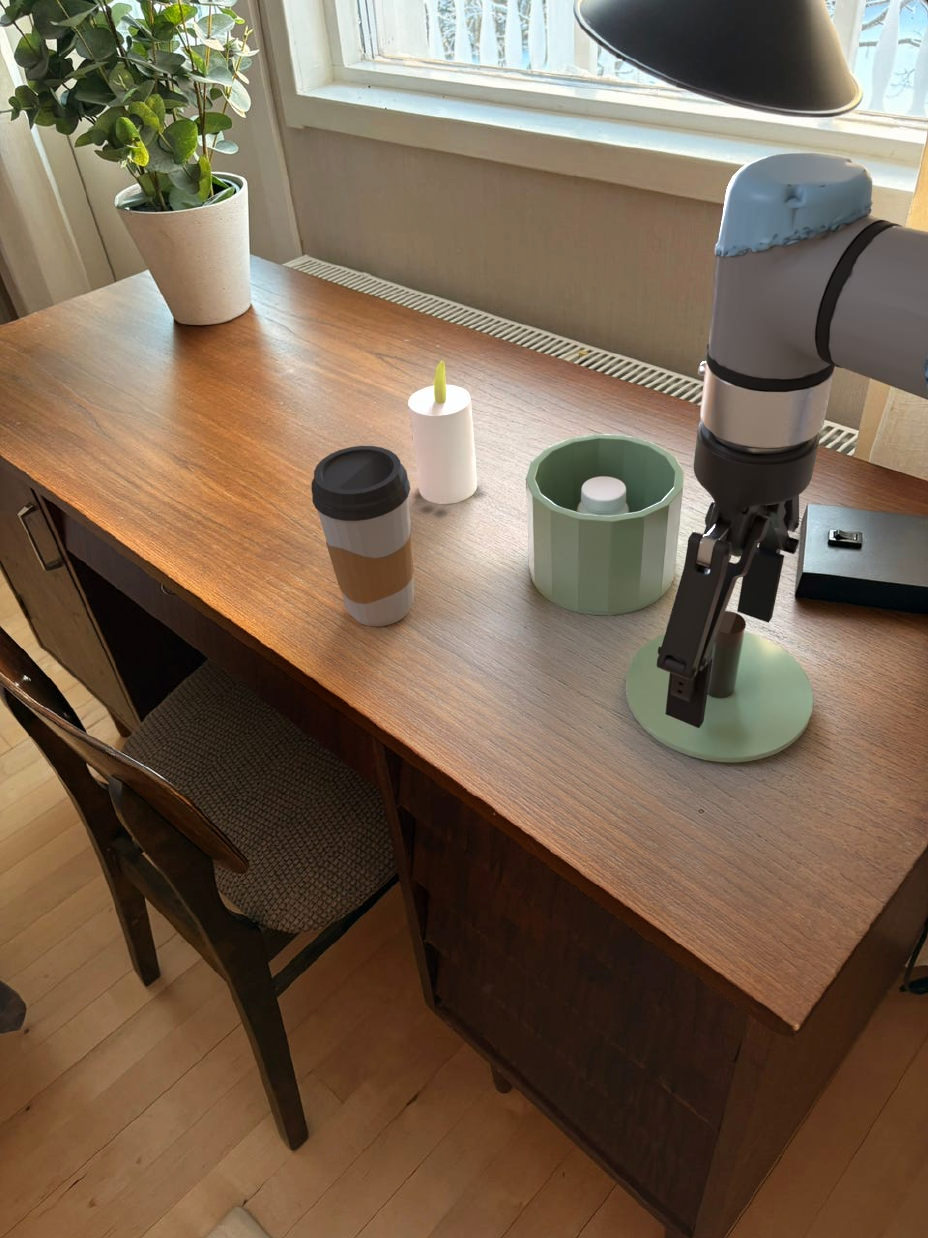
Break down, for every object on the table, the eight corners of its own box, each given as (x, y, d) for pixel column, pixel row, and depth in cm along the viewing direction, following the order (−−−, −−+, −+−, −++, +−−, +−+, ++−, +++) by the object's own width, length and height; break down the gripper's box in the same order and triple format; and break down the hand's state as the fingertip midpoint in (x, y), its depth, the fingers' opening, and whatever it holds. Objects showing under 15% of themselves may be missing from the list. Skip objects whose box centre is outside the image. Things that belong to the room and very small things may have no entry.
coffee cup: (442, 591, 89) (426, 455, 79) (393, 646, 84) (369, 507, 74) (369, 568, 92) (346, 434, 82) (318, 619, 87) (286, 483, 77)
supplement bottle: (611, 584, 87) (614, 509, 81) (566, 568, 89) (566, 494, 84) (635, 556, 90) (639, 482, 84) (591, 541, 92) (593, 468, 86)
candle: (435, 465, 105) (421, 339, 95) (487, 478, 102) (478, 349, 92) (406, 495, 101) (389, 367, 91) (459, 509, 98) (447, 378, 88)
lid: (837, 674, 77) (857, 599, 72) (769, 797, 69) (787, 722, 63) (673, 615, 84) (680, 541, 79) (592, 719, 76) (595, 645, 70)
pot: (698, 551, 90) (709, 457, 83) (632, 634, 83) (638, 538, 76) (575, 511, 97) (575, 421, 90) (502, 584, 89) (497, 492, 82)
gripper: (775, 334, 69) (738, 562, 83) (612, 507, 54) (602, 748, 68) (880, 355, 65) (823, 590, 79) (737, 546, 51) (698, 792, 65)
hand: (721, 664), depth 74 cm, fingers open, 13 cm apart
